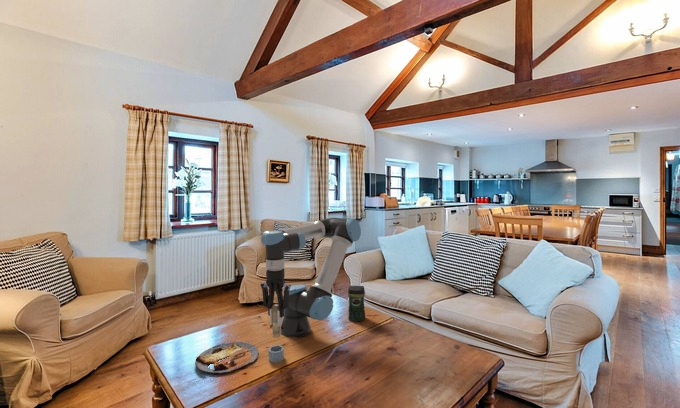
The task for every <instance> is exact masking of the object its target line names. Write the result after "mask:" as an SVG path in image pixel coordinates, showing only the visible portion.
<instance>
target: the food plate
mask: <svg viewBox="0 0 680 408" xmlns="http://www.w3.org/2000/svg"><path fill="white" fill-rule="evenodd" d="M243 348H244V349H246V350H248V351H249V352H250V356H249V357H250V360H249V361H247V362H246V363H245V364H243V365H241V366H238V367H237V366H236V367H235V368H234V369H231V370H230V368H232V367H234V366H235V365H236V364H237V362H236V361H234V360H237V359H239V358H240V359H241V358H242V357H243V358H244V357H245V356H246V355H245V354H246V352H245V351H242V352H238V353H237V354H235V353H236V352H237V351H241V350H243ZM233 354H234V355H233ZM232 355H233V356H232ZM230 356H231V359H230V361H226V359H228V358H229V357H230ZM227 357H228V358H227ZM246 357H247V356H246ZM258 357H259V349H258V347H256V345H254V344H252V343H250V342H244V341H229V342H223V343H220V344H217V345H215V346H211V347H210V348H208V349H205V350H203V351H202V352H201V353H199V355H198V356H196V359H195V361H194V362H195V363H194V364H195V367H196V368H197V370H199V371H200V372H202V373H210V374H211V375H212V374H214V375H215V374H217V375H219V374H220V375H221V374H222V373H225V374H227V373H230V372H233V371H235V370H239V369H241V368H243V367H244V366H247V365H248V364H251V363H254V362H255V361H256V360H257V359H258ZM225 358H226V359H225ZM222 359H225V360H224V361H223V360H222ZM219 360H222V361H220V362H218V361H219ZM210 364H214V368H213V369H210V367H209V368H208V366H209V365H210Z"/></svg>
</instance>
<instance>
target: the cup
mask: <svg viewBox="0 0 680 408" xmlns="http://www.w3.org/2000/svg"><path fill="white" fill-rule="evenodd" d="M284 348H285V347H284V346H283V345H281V344H275V345H271V346H270V347H269V348H268V361H269V362H270V363H272V364H273V363H274V364H275V363H280V362H283V360H284V359H285V357H284V356H285V350H284Z"/></svg>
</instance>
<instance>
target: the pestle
mask: <svg viewBox="0 0 680 408" xmlns="http://www.w3.org/2000/svg"><path fill="white" fill-rule="evenodd" d="M278 309H279V306H278V303H277V304H276V303H275V304H273V306H272V319H273V324H272V338H276V339H277V338H280V337H281V333H280V328H281V325H280V326H278V321H277V310H278Z"/></svg>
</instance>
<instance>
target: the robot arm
mask: <svg viewBox="0 0 680 408" xmlns="http://www.w3.org/2000/svg"><path fill="white" fill-rule="evenodd" d="M361 233H362V229H361V225H360V222H359V221H358V220H356V218H350V217H349V218H347V217H346V218H342V217H328V218H324V219H320V220H319V219H318V220H316V221H313V223H309V224H304V225H299V226H295V227H294V226H293V227H290V228H283V229H279V230H265V231H264V232H263V233H262V234H261V237H260V242H261V244H262V245H263V246H264V247H265V269H266V270H265V277H266V280H265V281H264V282H261V283H260V288H261V292H262V300H263V307H266V308H267V311H268V312H267V314H268V316H269V325H272V326H273V319H272V306H273V305H274V300H275V294H276V299H277V304H278V306H279V309H278V310H277V321H278V326H280V336H281V335H283V336H285V337H288V338H289V337H290V338H293V337H294V338H303V337H305V336H308V335H309V334H310V333H311V324H310V321H309V319H308V318H311V319H313V320H317V321H324V320H325V319H327V318H328V317H329V316H330V315H331V313H332V312H333V309H334V300H333V298H332V297H333V293H332V289H333V286H334V284H335V281H336V279H337V276H338V274H339V271H340V268H341V266H342V263H343V261H344V258H345V256H346V254H347V251H348V249H349V248H351V247H352V245H353V243H354V242H358V241H359V240H360V238H361V235H362V234H361ZM323 238H324V239H325V238H326V239H331V241H332V242H331V245H330V247H329V249H328V251H327V255H326V257H325V259H324V262H323V264H322V266H321V269H320V270H319V273H318V275H317V278H316V280H315V283H314V284H312V285H310V287H309V289H308V288H307V287H308V286H306V284H295V285H291V284H287V283H286V281H285V253H289V252H294V251H295V252H296V251H299V250H301V249H304V248H305V246H306V241H307V240H310V239H323Z"/></svg>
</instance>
